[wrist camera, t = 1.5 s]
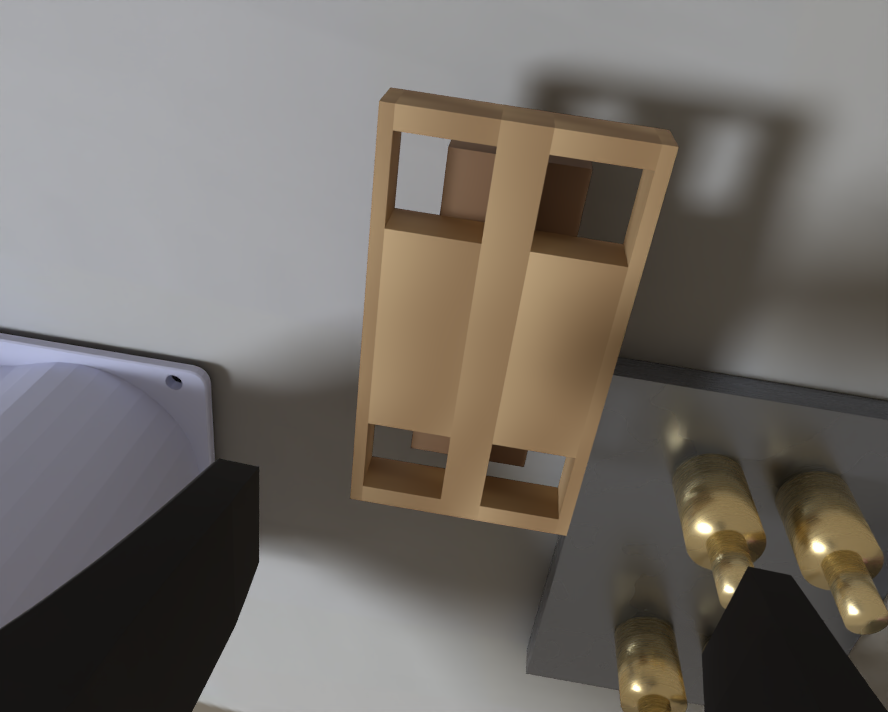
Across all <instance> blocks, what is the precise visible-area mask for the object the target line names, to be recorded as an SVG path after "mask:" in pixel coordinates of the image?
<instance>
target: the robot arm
mask: <svg viewBox="0 0 888 712" xmlns="http://www.w3.org/2000/svg"><path fill="white" fill-rule="evenodd" d="M171 375H174V376H177V377H178V378H179V379H180V380H181V381H182V383H179V382H177V381H175V380H174V379H173V378H172V376H171ZM258 563H259V467H257V466H252V465H247V464H242V463H237V462H232V461H227V460H222V459H218V460H217V461H215V451H214V432H213V414H212V395H211V381H210V377H209V375H208V374H207V373H206V371H204V370H203V369H202V368H200V367H197V366H194V365H189V364H183V363H177V362H171V361H165V360H159V359H153V358H147V357H141V356H135V355H129V354H123V353H117V352H111V351H105V350H99V349H93V348H87V347H81V346H75V345H69V344H63V343H57V342H51V341H45V340H39V339H33V338H27V337H21V336H15V335H9V334H3V333H0V712H192V711H193V708H194V707H195V705H196V703H197V701H198V699H199V697H200V695H201V693H202V691H203V689H204V687H205V685H206V683H207V681H208V679H209V677H210V675H211V673H212V671H213V669H214V667H215V665H216V663H217V661H218V659H219V657H220V655H221V653H222V651H223V649H224V647H225V645H226V643H227V641H228V639H229V637H230V635H231V633H232V631H233V629H234V627H235V625H236V623H237V620H238V617H239V615H240V612H241V610H242V607H243V604H244V602H245V599H246V597H247V594H248V591H249V588H250V585H251V583H252V580H253V577H254V574H255V572H256V569H257V566H258ZM702 671H703V694H704V707H705V712H887V710H886V709H885V707H884V706H883V705H882V703H881V702H880V701H879V699H878V698H877V696H876V695H875V694H874V692H873V691H872V690H871V688H870V687H869V685H868V684H867V683H866V681H865V680H864V678H863V677H862V676H861V674H860V673H859V671H858V670H857V669H856V667H855V666H854V664H853V663H852V661H851V660H850V659H849V657H848V656H847V654H846V653H845V651H844V650H843V649H842V647H841V646H840V644H839V643H838V641H837V640H836V639H835V637H834V636H833V634H832V633H831V631H830V630H829V629H828V627H827V626H826V624H825V623H824V621H823V620H822V618H821V617H820V616H819V614H818V613H817V611H816V610H815V608H814V607H813V605H812V604H811V603H810V601H809V600H808V598H807V597H806V595H805V594H804V592H803V591H802V590H801V588H800V587H799V585H798V584H797V583H796V581H795V580H794V578H793V577H792V576H791V575H788V574H783V573H779V572H774V571H769V570H764V569H759V568H754V567H749V566H748V567H747V569H746V571H745V573H744V575H743V577H742V579H741V581H740V583H739V584H738V586H737V588H736V590H735V592H734V594H733V596H732V598H731V600H730V602H729V604H728V605H727V607H726V609H725V611H724V613H723V615H722V617H721V619H720V621H719V623H718V624H717V626H716V628H715V630H714V632H713V634H712V636H711V638H710V640H709V642H708V644H707V645H706V647H705V649H704V651H703V653H702Z"/></svg>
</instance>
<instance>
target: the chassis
mask: <svg viewBox="0 0 888 712" xmlns="http://www.w3.org/2000/svg"><path fill="white" fill-rule="evenodd" d="M748 566H749V567H754V568H759V569H764V570H769V571H774V572H779V573H783V574H788V575H791V576H792V577H793V578H794V580H795V581H796V583H797V584H798V585H799V587H800V588H801V590H802V591H803V592H804V594H805V595H806V597H807V598H808V600H809V601H810V603H811V604H812V605H813V607H814V608H815V610H816V611H817V613H818V614H819V616H820V617H821V618H822V620H823V621H824V623H825V624H826V626H827V627H828V629H829V630H830V631H831V633H832V634H833V636H834V637H835V639H836V640H837V641H838V643H839V644H840V646H841V647H842V649H843V650H844V651H845V653H846V654H847V656H848V654H849V653H850V651H851V650H852V648H853V647H854V645H855V643H856V642H857V640H858V639H859V637H860V636H861V634H862V635H866V634H873V633H876V632H879V631H881V630H883V629H884V628H885V627H886V626H887V625H888V611H887V609H886V607H885V605H884V603H883V600H884V598H885V597H886V595H887V594H888V401H883V400H877V399H871V398H865V397H858V396H852V395H846V394H840V393H834V392H828V391H822V390H816V389H809V388H803V387H797V386H791V385H785V384H779V383H773V382H767V381H760V380H754V379H748V378H742V377H736V376H730V375H724V374H718V373H712V372H705V371H699V370H693V369H687V368H681V367H675V366H669V365H663V364H656V363H650V362H644V361H638V360H632V359H626V358H620V357H618V359H617V363H616V366H615V369H614V373H613V376H612V380H611V383H610V387H609V390H608V394H607V397H606V401H605V404H604V408H603V411H602V414H601V418H600V421H599V425H598V428H597V432H596V435H595V439H594V442H593V446H592V449H591V453H590V456H589V460H588V463H587V466H586V470H585V473H584V477H583V480H582V484H581V487H580V491H579V494H578V498H577V501H576V505H575V508H574V511H573V515H572V518H571V522H570V525H569V529H568V532H567V536H564V535H559V537H558V541H557V545H556V548H555V552H554V555H553V559H552V562H551V566H550V569H549V573H548V577H547V580H546V584H545V587H544V591H543V594H542V598H541V601H540V605H539V609H538V612H537V616H536V619H535V623H534V626H533V630H532V633H531V637H530V641H529V644H528V648H527V664H526V674H532V675H537V676H543V677H548V678H554V679H560V680H565V681H571V682H576V683H582V684H588V685H593V686H599V687H604V688H610V689H616V690H619V691H620V701H621V708H622V710H623V711H624V712H685V711H686V709H687V702H688V703H694V704H700V705H704V694H703V671H702V653H703V651H704V649H705V647H706V645H707V644H708V642H709V640H710V638H711V636H712V634H713V632H714V630H715V628H716V626H717V624H718V623H719V621H720V619H721V617H722V615H723V613H724V611H725V609H726V607H727V605H728V604H729V602H730V600H731V598H732V596H733V594H734V592H735V590H736V588H737V586H738V584H739V583H740V581H741V579H742V577H743V575H744V573H745V571H746V569H747V567H748Z"/></svg>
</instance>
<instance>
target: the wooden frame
mask: <svg viewBox="0 0 888 712" xmlns="http://www.w3.org/2000/svg"><path fill="white" fill-rule="evenodd" d="M401 132H406V133H413V134H419V135H426V136H432V137H439V138H445V139H452V140H458V141H465V142H471V143H478V144H484V145H490V146H497V150H496V156H495V162H494V168H493V175H492V181H491V187H490V193H489V200H488V206H487V212H486V219H485V222H480V221H473V220H467V219H461V218H454V217H448V216H442V215H435V214H429V213H423V212H416V211H410V210H404V209H397V208H395V197H396V186H397V175H398V164H399V153H400V142H401ZM678 148H679V147H678V145H677V143H676V141H675V139H674V137H673V136H672V134H671V132H670V130H666V129H659V128H653V127H646V126H639V125H633V124H626V123H620V122H613V121H607V120H600V119H594V118H587V117H580V116H574V115H567V114H561V113H554V112H548V111H541V110H535V109H528V108H521V107H515V106H508V105H502V104H495V103H489V102H482V101H476V100H469V99H462V98H456V97H449V96H443V95H436V94H430V93H423V92H417V91H410V90H403V89H397V88H390V89H389V90H388V91H387V92H386V94H385V95H384V96H383V97H382V98H381V100H380V101H379V111H378V124H377V138H376V152H375V165H374V179H373V193H372V206H371V220H370V234H369V247H368V261H367V275H366V288H365V302H364V316H363V330H362V343H361V357H360V371H359V384H358V398H357V412H356V425H355V439H354V453H353V466H352V480H351V494H350V499H355V500H361V501H367V502H372V503H378V504H384V505H390V506H396V507H401V508H407V509H413V510H419V511H425V512H431V513H436V514H442V515H448V516H454V517H460V518H465V519H471V520H477V521H483V522H489V523H495V524H500V525H506V526H512V527H518V528H524V529H529V530H535V531H541V532H547V533H553V534H559V535H564V536H567V532H568V529H569V525H570V522H571V518H572V515H573V511H574V508H575V505H576V501H577V498H578V494H579V491H580V487H581V484H582V480H583V477H584V473H585V470H586V466H587V463H588V460H589V456H590V453H591V449H592V446H593V442H594V439H595V435H596V432H597V428H598V425H599V421H600V418H601V414H602V411H603V408H604V404H605V401H606V397H607V394H608V390H609V387H610V383H611V380H612V376H613V373H614V369H615V366H616V363H617V359H618V356H619V352H620V349H621V345H622V342H623V338H624V335H625V331H626V328H627V324H628V321H629V318H630V314H631V311H632V307H633V304H634V300H635V297H636V293H637V290H638V286H639V283H640V279H641V276H642V273H643V269H644V266H645V262H646V259H647V255H648V252H649V248H650V245H651V241H652V238H653V234H654V231H655V228H656V224H657V221H658V217H659V214H660V210H661V207H662V203H663V200H664V196H665V193H666V189H667V186H668V183H669V179H670V176H671V172H672V169H673V165H674V162H675V158H676V155H677V151H678ZM549 155H555V156H562V157H568V158H575V159H581V160H588V161H594V162H600V163H607V164H613V165H620V166H626V167H633V168H639V169H643V172H642V176H641V180H640V183H639V187H638V191H637V195H636V198H635V202H634V206H633V209H632V213H631V217H630V221H629V224H628V228H627V232H626V236H625V239H624V243H623V244H619V243H612V242H606V241H600V240H593V239H587V238H581V237H574V236H568V235H562V234H556V233H549V232H543V231H537V230H535V225H536V220H537V215H538V210H539V205H540V200H541V195H542V190H543V185H544V180H545V175H546V170H547V165H548V159H549ZM375 425H381V426H387V427H393V428H399V429H405V430H411V431H417V432H423V433H429V434H435V435H441V436H447V437H451V438H450V445H449V451H448V457H447V463H446V469H445V468H439V467H433V466H427V465H421V464H415V463H409V462H403V461H397V460H392V459H386V458H380V457H374V456H372V452H373V441H374V430H375ZM492 444H494V445H500V446H506V447H512V448H518V449H524V450H530V451H536V452H542V453H548V454H554V455H559V456H565V457H566V460H565V463H564V467H563V471H562V475H561V478H560V482H559V486H558V488H556V487H551V486H545V485H539V484H533V483H527V482H521V481H515V480H509V479H503V478H498V477H492V476H486V473H487V468H488V463H489V458H490V453H491V448H492Z"/></svg>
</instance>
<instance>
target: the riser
mask: <svg viewBox="0 0 888 712" xmlns="http://www.w3.org/2000/svg"><path fill="white" fill-rule="evenodd" d="M496 150H497V146H490V145H484V144H478V143H471V142H465V141H458V140H452V139H451V142H450V144H449V147H448V154H447V162H446V170H445V178H444V186H443V194H442V202H441V210H440V215H442V216H448V217H454V218H461V219H467V220H473V221H480V222H485V219H486V212H487V206H488V200H489V193H490V187H491V181H492V175H493V168H494V162H495V156H496ZM592 170H593V168H592V162H591V161H588V160H581V159H575V158H568V157H562V156H555V155H549V159H548V165H547V170H546V175H545V180H544V185H543V190H542V195H541V200H540V205H539V210H538V215H537V220H536V225H535V230H537V231H543V232H549V233H556V234H562V235H568V236H574V237H577V235H578V231H579V226H580V222H581V218H582V213H583V209H584V205H585V201H586V196H587V192H588V188H589V183H590V179H591V175H592ZM450 438H451V437H447V436H441V435H435V434H429V433H423V432H417V431H413V435H412V443H411V448H415V449H420V450H426V451H432V452H438V453H444V454H448V451H449V445H450ZM527 451H528V450H524V449H518V448H512V447H506V446H500V445H494V444H492V448H491V453H490V458H489V461H491V462H497V463H503V464H509V465H515V466H521V467H524V464H525V460H526V456H527Z"/></svg>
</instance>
